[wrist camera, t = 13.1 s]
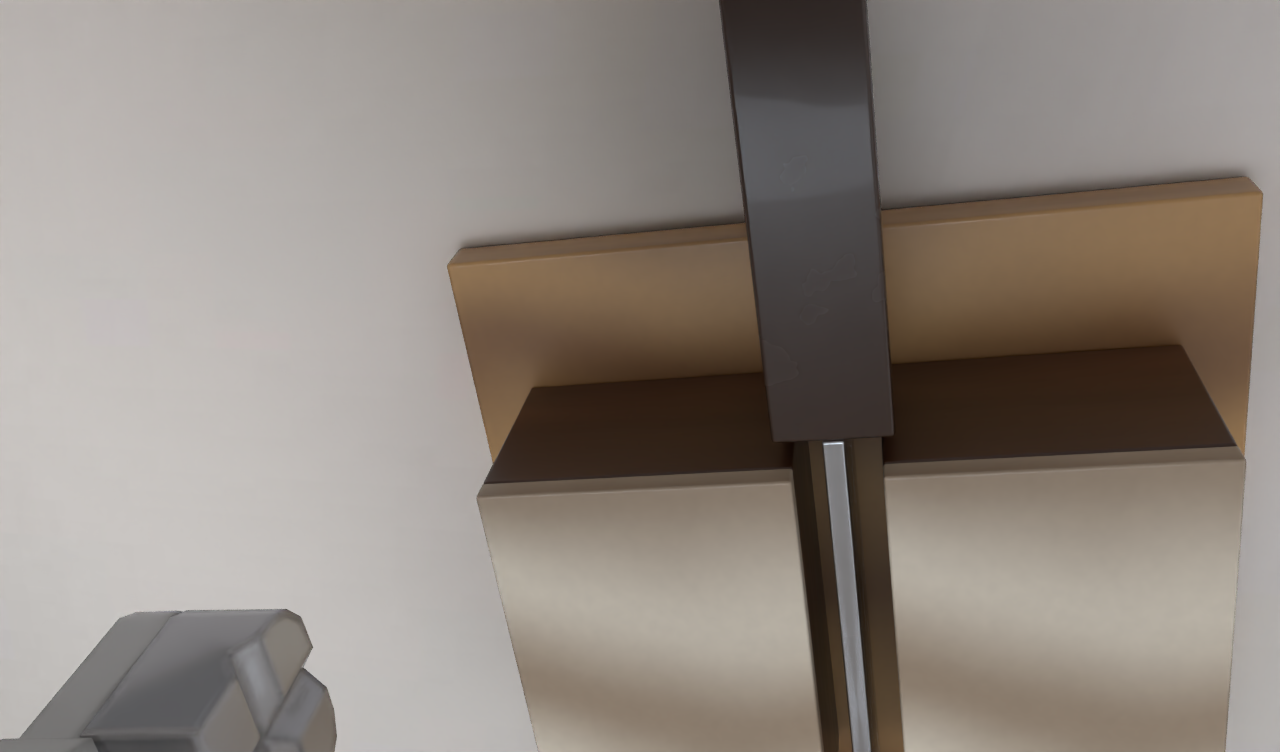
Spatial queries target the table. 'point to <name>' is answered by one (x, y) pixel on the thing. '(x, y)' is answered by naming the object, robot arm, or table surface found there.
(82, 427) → the table surface
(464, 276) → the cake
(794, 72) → the cake knife
